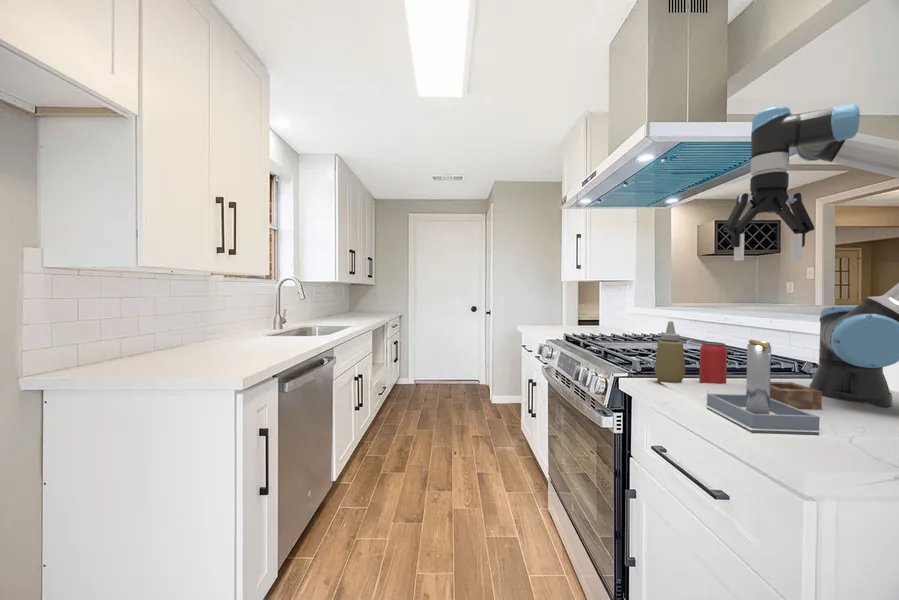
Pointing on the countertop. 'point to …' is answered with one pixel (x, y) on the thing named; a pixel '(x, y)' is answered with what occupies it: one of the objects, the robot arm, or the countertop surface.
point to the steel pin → (758, 377)
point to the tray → (764, 415)
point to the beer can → (713, 363)
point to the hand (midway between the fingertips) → (767, 260)
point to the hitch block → (796, 395)
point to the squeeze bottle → (670, 357)
